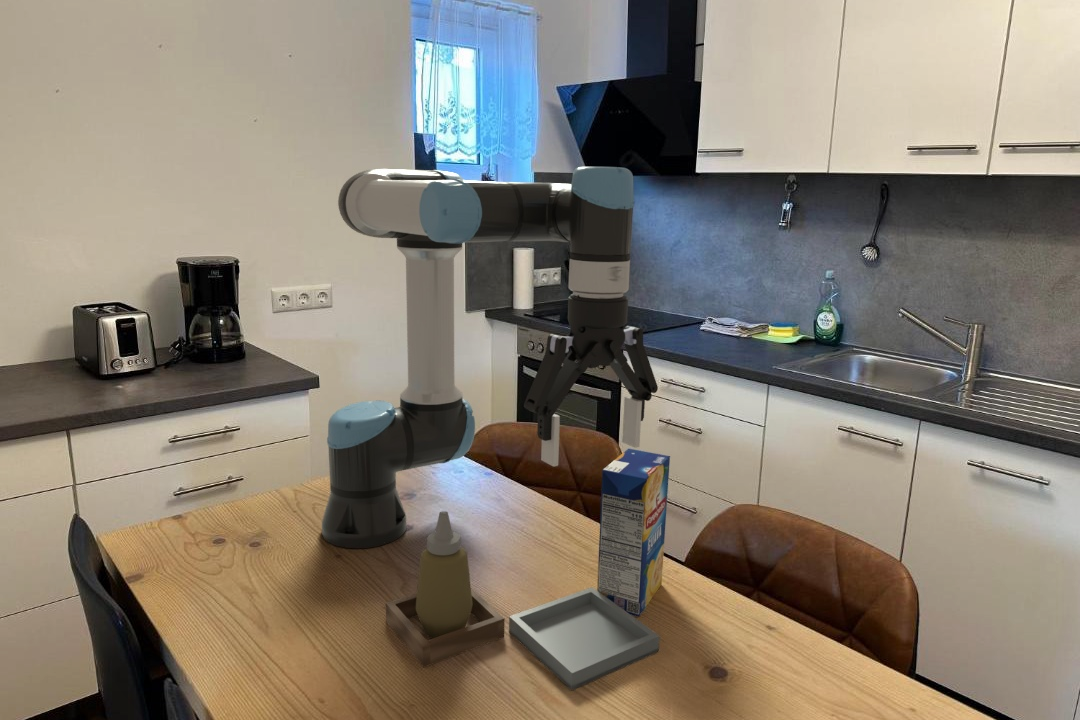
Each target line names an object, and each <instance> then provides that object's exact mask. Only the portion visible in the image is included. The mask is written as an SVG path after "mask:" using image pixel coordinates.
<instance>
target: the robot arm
mask: <svg viewBox="0 0 1080 720" xmlns="http://www.w3.org/2000/svg"><path fill="white" fill-rule="evenodd" d="M573 170H574V171H573V172H572V179H571V182H570V183H562V182H561V183H559V182H558V183H556V182H542V181H541V182H527V181H526V182H522V181H521V182H519V181H518V182H517V181H516V182H515V181H514V182H513V181H489V180H488V181H487V180H486V181H485V180H484V181H483V180H465V179H464V178H463V177H462V176H461V175H459V174H458V173H455V172H452V171H451V172H450V171H446V170H445V171H443V170H436V169H433V170H430V169H429V170H426V169H425V170H424V169H390V168H373V169H366V170H364V171H361V172H358V173H356V174H354V175H353V176H351V177H349V178H348V179H347V180H346V182H345V183H344V184H343V186H342V187H341V189H340V192H339V195H338V200H337V204H338V205H337V206H338V211H339V214H340V216H341V218H342V220H343V221H344V222H345V225H347V226H348V227H349V228H350V229H351V230H352V231H355V233H358V234H360V235H364V236H367V237H371V238H379V239H380V238H381V239H396V248H397V250H399V252H400V253H401V254H402V255H403V256H404V257H405V280H406V281H405V282H406V286H405V287H406V289H405V290H406V337H407V339H406V341H407V346H406V347H407V386H406V387H405V389H404V390H403V391H402V392H401V393H400V394H399V395H400V396H399V401H400V404H399V405H400V406H398V407H394V405H393V404H392V403H390V402H389V401H385V400H373V401H372V400H366V401H360V402H356V403H352V404H350V405H345V406H344V407H342V408H340V409H338V410H337V411H335V412H334V413H333V414H332V415H331V416H330V418H329V420H328V424H327V425H328V428H327V429H328V430H327V439H326V444H327V446H328V462H329V463H328V465H329V466H328V467H329V486H330V487H329V488H330V493H329V497H328V500H327V504H326V507H325V510H324V514H323V516H322V521H321V532H322V533H321V535H322V537H323V539H324V540H325V541H326V542H327V543H329V544H331V545H333V546H336V547H339V548H346V549H368V548H375V547H378V546H383V545H386V544H389V543H392V542H394V541H395V540H397V539H399V538H400V537H402V536H403V534H405V532H406V530H407V515H406V511H405V509H404V506H403V503H402V500H401V498H400V495H399V492H398V490H397V473H398V472H403V471H406V470H411V469H417V468H423V467H427V466H431V465H437V464H446V463H448V462H450V461H454V460H458V459H461V458H463V457H464V456H465V455H466V454H467V453H468V452H469V451H470V449H471V447H472V445H473V442H474V438H475V432H476V420H475V416H474V415H473V412H474V410H473V408H472V406H471V404H470V403H469V402H468V400H466V399H465V398H463V396H464V395H463V392H462V391H461V390H460V389H459V388H458V387H457V386H456V385H455V257H456V256H457V254H458V253H460V252H461V251H462V250H463V244H465V243H484V242H485V243H488V242H491V243H493V242H503V243H504V242H543V241H544V242H549V241H550V242H562V243H570V249H569V265H568V266H569V267H568V269H569V270H568V286H567V287H568V290H570V291H571V292H572V293H571V294H570V295H569V296H568V300H567V301H568V302H567V305H568V306H567V321H568V324H569V333H568V335H567V336H564V335H557V334H554V333H550V334H549V335H548V336H547V341H546V349H545V353H544V355H543V358H542V360H541V363H540V365H539V366H538V367H539V368H538V369H537V372H536V374H535V377H534V379H533V382H532V384H531V386H530V389H529V391H528V394H527V396H526V398H525V401H524V403H523V407H524V409H526V410H528V411H530V412H532V413H534V414H536V415H537V431H536V432H537V434H536V435H537V437H538V439H540V440H541V451H540V452H541V453H540V456H541V459H540V460H541V461H542V462H544V463H545V464H548V465H550V466H552V467H558V466H559V457H560V455H559V454H560V453H559V452H560V449H559V448H560V427H561V425H560V421H561V420H560V418H561V416H560V415H558V414H556V412H557V411H558V409H559V407H560V406H561V404H562V402H563V401H564V399H565V398H566V397H567V395H568V393H569V392H570V391H571V389H572V388H573V387H574V384H575V383H576V381H577V380H578V379H579V377H580V375H582V374H584V373H585V372H586V371H587V369H594V368H595V369H596V368H598V367H600V366H601V367H608V366H609V367H610V368H611V369H612V370H613V372H614V373H615V375H616V376H617V378H618V380H620V382H621V383H622V385H623V386H624V388H625V389H626V390H627V392H628V394H629V395H630V396H624V401H623V402H624V403H623V418H622V419H623V420H622V421H623V422H622V436H621V437H622V438H621V439H622V440H621V443H624V444H626V445H628V446H630V447H632V448H635V449H636V448H640V443H641V427H642V426H641V425H642V423H641V422H643V421H644V418H645V405H646V403H645V402H648V401H649V402H650V400H651V399H652V397H653V396H652V394H656V393H657V392H658V387H659V386H658V384H657V381H656V377H655V375H654V372H653V369H652V366H651V363H650V359H649V357H648V355H647V352H646V348H645V345H644V331H643V329H642V328H639V327H637V326H636V327H635V326H631V325H626V324H627V323H628V313H629V312H628V308H629V298H627V296H626V295H624V293H625V294H626V293H627V292H628V291H629V289H630V287H629V285H630V268H631V267H630V266H631V248H632V235H633V234H632V231H633V230H632V229H633V217H634V216H633V215H634V206H635V201H634V200H635V198H634V176H633V172H632V171H631V170H630V169H628V168H626V167H619V166H618V167H617V166H579V167H576V168H575V169H573ZM625 325H626V326H625ZM624 326H625V327H624ZM623 345H624V347H625V349H626V352H627V356H628V358H627V357H626V354H624V352H623V351H622V350H621V348H622V346H623ZM566 353H567V354H566ZM628 359H629V361H630V363H631V366H630V364H629V363H628Z"/></svg>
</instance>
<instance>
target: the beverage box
mask: <svg viewBox="0 0 1080 720" xmlns="http://www.w3.org/2000/svg"><path fill="white" fill-rule="evenodd" d="M670 462H671V456H669V455H665V454H661V453H656V452H649V451H645V450H639V449H633V448H627V449H626V450H625V451H623V453H621V454H619V456H618V457H616V458H615V459H614V460H613V461H611V463H609V464H607V466H606V467H604V468H603V469H602V474H601V475H602V476H601V498H600V516H599V518H600V522H599V538H598V539H599V541H598V544H599V545H598V561H597V564H598V566H597V585H596V586H597V587H596V590H597V591H598V592H600V593H601V594H602V595H604V596H605V597H607V598H608V599H609V600H611V601H612V602H614V603H615V604H616V605H618V606H619V607H620V608H622V609H623V610H625V611H626V612H627V613H629V614H630V615H632V616H633V617H635V618H636V617H637V618H640V616H641V615H642V613H643V612H644V611H645V609H646V607H647V606H648V605H649V603H650V601H651V600H652V598H653V597H654V596H655V594H656V593H657V591H658V590H659V588H660V587H661V586H662V581H663V568H664V552H665V537H666V536H665V535H666V523H667V509H668V508H667V507H668V504H667V503H668V491H669V490H668V489H669V477H670Z"/></svg>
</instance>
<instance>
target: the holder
mask: <svg viewBox="0 0 1080 720" xmlns="http://www.w3.org/2000/svg"><path fill="white" fill-rule="evenodd" d="M471 594H472V603H473V605H472V610H471V613H470V615H472V616H473V617H474V618H475V619H477V620H478V622H476V623H474V624H470V625H468V626H466V627H465V628H462V629H459V630H456V631H453V632H451V633H448V634H445V635H442V636H439V637H436V638H430V639H429V640H427V639H426V638H425V637H424V636H423V635H422V633H421V632H420V631H419V630H418V629H417V627H416V626H414V624H413V623H412V622H411V620H409V619H411V618H414V617H418V614H417V612H416V598H417V592H416V593H414V594H410V595H407V596H404V597H400V598H397V599H393V600H391V601H388V602H385V620H386V623H387V624H388V626H390V628H391V629H392V630H393V632H394V633H395V634H396V635H397V636H398V638H399V639H400V640H401V642H402V643H403V644H404V645H405V646H406V648H407V649H408V650H409V652H410V653H411V654H412V655H413V656H414V658H415V659H416V660H417V661H418V662H419V665H421V666H422V667H423V668H425V667H429V666H431V665H433V664H436V663H439V662H442V661H444V660H447V659H450V658H452V657H453V658H454V657H455V656H458V655H461V654H463V653H466V652H468V651H472V650H473V649H477V648H480V647H482V646H485V645H488V644H490V643H493V642H496V641H498V640H501V639H503V638H505V621H506V619H505V617H504V616H503V615H502V614H501V613H499V612H498V611H497V610H496V608H494V607H493V606H492V605H491V604H490V603H488V601H486V600H485V599H484V598H483V597H482V596H481V595H480V594H478V593H477V592H476V591H475V589H473V588H472V587H471ZM487 643H488V644H487ZM479 646H480V647H479Z"/></svg>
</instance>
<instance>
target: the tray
mask: <svg viewBox="0 0 1080 720" xmlns="http://www.w3.org/2000/svg"><path fill="white" fill-rule="evenodd" d="M508 619H509V620H508V633H509V634H511V636H513V638H515V639H516V640H517V641H518V642H519V643H520V644H521V645H523V647H524V648H525V649H527V650H528V652H529V653H531V655H533V656H534V657H535V658H536V659H537V660H538V661H539V662H541V664H543V666H545V667H546V668H547V669H548V670H549V671H550V672H551V673H552V674H553V675H554V676H556V678H557V679H559V680H560V682H562V683H563V684H564V685H565V686H566V687H567V688H568V689H569V690H570V691H573V690H576V689H578V688H581V687H583V686H585V685H587V684H589V683H591V682H595V681H596V680H599V679H601V678H603V677H606V676H608V675H610V674H612V673H615V672H617V671H619V670H621V669H623V668H625V667H627V666H630V665H633V664H634V663H637V662H640V661H641V660H644V659H646V658H648V657H651V656H654V654H657V653H659V652H660V638H661V636H660V635H659V634H658V633H657V632H655V631H654V630H652V629H651V628H649V627H648V626H647V625H646V624H644V623H643V622H641V621H640V620H639V619H638V618H636V617H635V616H633V615H630V614H629V613H627V612H626V611H625V610H623V609H622V608H620V607H619V606H618V605H616V604H615V603H614V602H612V601H611V600H609V599H608V598H607V597H605V596H604V595H602V594H601V593H600V592H598V591H597V588H596V589H595V588H594V587H593V586H592V587H589V588H586V589H583V590H580V591H578V592H575V593H571V594H568V595H566V596H563V597H560V598H558V599H554V600H552V601H549V602H546V603H544V604H541V605H538V606H535V607H532V608H529V609H527V610H523V611H521V612H517V613H514V614H512V615H509V616H508Z"/></svg>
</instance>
